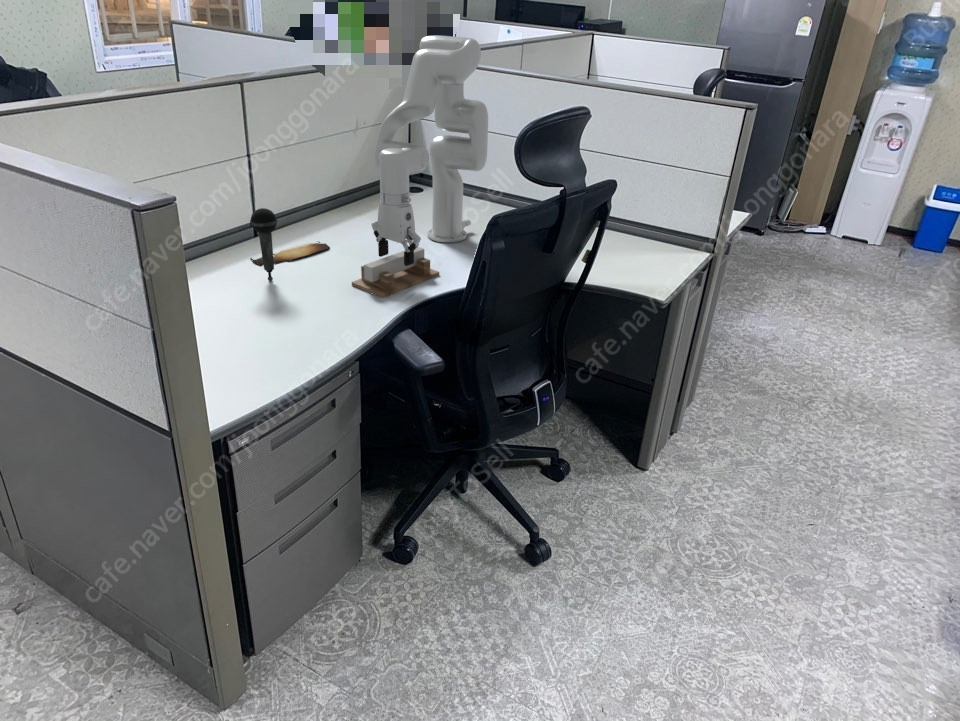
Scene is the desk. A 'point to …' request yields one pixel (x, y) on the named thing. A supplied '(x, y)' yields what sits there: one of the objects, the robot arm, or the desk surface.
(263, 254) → the microphone
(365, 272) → the clay strip
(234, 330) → the desk surface
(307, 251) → the parchment
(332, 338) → the desk surface
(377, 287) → the wooden pegged board
